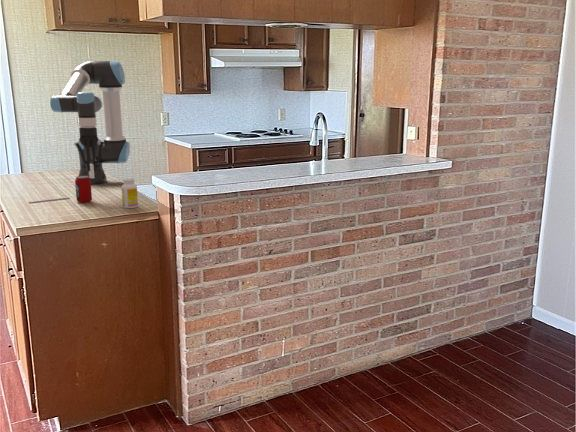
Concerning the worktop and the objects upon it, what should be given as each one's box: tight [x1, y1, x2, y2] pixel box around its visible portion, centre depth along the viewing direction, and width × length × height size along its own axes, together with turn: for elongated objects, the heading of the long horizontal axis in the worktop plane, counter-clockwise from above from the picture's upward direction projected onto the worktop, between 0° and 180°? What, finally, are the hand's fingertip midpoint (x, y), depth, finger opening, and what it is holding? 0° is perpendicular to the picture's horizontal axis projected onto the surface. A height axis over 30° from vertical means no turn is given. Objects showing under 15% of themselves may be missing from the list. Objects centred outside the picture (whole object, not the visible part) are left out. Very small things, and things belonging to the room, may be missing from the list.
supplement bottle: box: [121, 177, 139, 209], centre depth 247 cm, size 7×7×13 cm
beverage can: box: [74, 175, 93, 204], centre depth 256 cm, size 7×7×12 cm
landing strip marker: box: [28, 197, 70, 204], centre depth 259 cm, size 18×2×1 cm, turn 127°
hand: (91, 177), depth 257 cm, fingers closed
